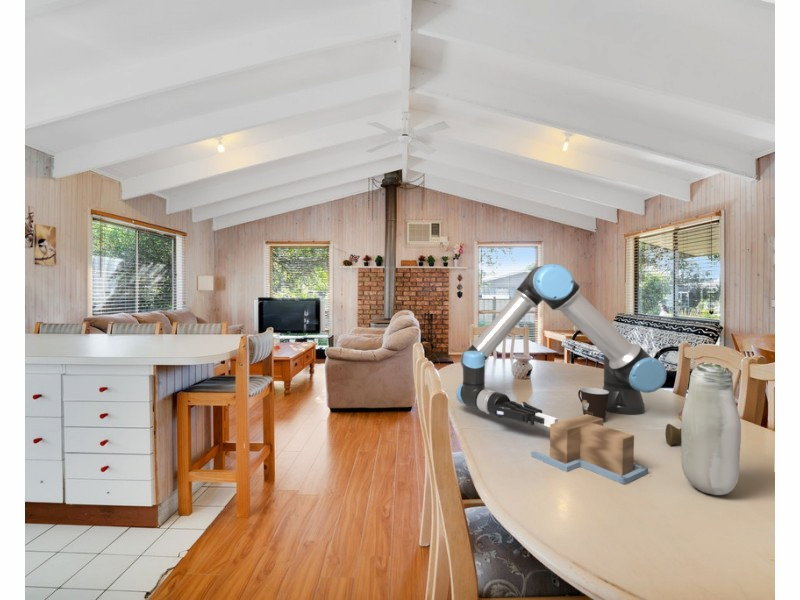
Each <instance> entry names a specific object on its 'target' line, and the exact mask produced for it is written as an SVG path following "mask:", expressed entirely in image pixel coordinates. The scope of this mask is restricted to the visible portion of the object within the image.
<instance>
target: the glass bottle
mask: <svg viewBox="0 0 800 600" xmlns="http://www.w3.org/2000/svg"><path fill="white" fill-rule="evenodd" d="M734 392H735V391H734V379H733V377H732V375H731V373H730V371H729V370H728V369H726V368H724V367H722V366H720V365H716V364H712V363H702V364H699V365H697V366H696V367H694V368H693V369H692V371H691V373H690V376H689V385H688V392H687V395H686V398H685V402H684V405H683V409H682V410H683V412H682V422H681V427H680V428H681V438H682V443H681V451H680V452H681V454H680V455H681V456H680V457H681V458H680V459H681V461H680V462H681V469H682V472H683V475H684V476H685V478H686V480H687V481H688V483H690V484H691V485H692V486H693V487H694V488H695V489H697V490H698V491H700V492H702V493H705V494H708V495H714V496H723V495H727V494H729V493H730V492H732V491H733V490H734V489H735V487H736V485H737V483H738V480H739V475H740V462H741V461H740V459H741V458H740V457H741V456H740V455H741V444H742V441H741V440H742V426H741V425H742V424H741V418H740V413H739V410H738V407H737V403H736V398H735V393H734Z"/></svg>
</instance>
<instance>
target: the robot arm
mask: <svg viewBox="0 0 800 600" xmlns="http://www.w3.org/2000/svg"><path fill="white" fill-rule="evenodd" d="M542 302H544V303H545V304H546V305H548V307H549V308H550V309H551V310H552V311H560V312H561V313H562V314H563V315H564V316H565V317H566V318H567V319H568V321H570V322H571V323H572V324H573V325H574V326H575V327H576V328H577V329H578V330H579V331H580V332H581V333H582V334H583V335H584V336H585V337H586V338H587V339H588V340H589V341H590V342H591V343H592V344H593V345H594V346H595V347H596V348H597V349H598V350H599V351H600V352H601V353H602V354H603V386H602V389H604V390H607V391H609V396H608V403H607V410H606V412H610V413H611V412H612V413H615V414H623V415H640V414H644V413H645V411H646V405H645V403H644V400H643V397H642V393H647V394H648V393H654V392H656V391H659V390H660V389H661V388H663V387H662V386H663V385H664V384H665V383H666V381H667V368H666V367H665V364H663V362H662V361H660V360H659V359H657V358H655V357H652V356H651V355H649V353H648V352H647V351H645V349H644V348H643V347H641V345H640V344H637V343H631V342H630V341H629V340H628V339H627V338H626V337H625V336H624V335H623V334H622V333H621V332H620V331H619V330H617V328H616V327H615V326H614V325H612V324H611V323H610V322H609V320H608V319H607V318H606V317H604V315H602V314H601V313H600V311H599V310H597V309H596V308H595V307H594V306H593V305H592V303H591V302H589V300H588V299H586V298H585V297H584V296H583V295H582V293H581V286H580V285H579V284H578V283H577V282H576V281H575V280H574V277H573V274H572V273H571V271H570V270H569V269H567V267H565V266H563V265H560V264H555V263H549V264H545V265H540V266H537V267H535V268H534V269H532V270H531V271H529V273H528V274H527V276H526V277H525V278H524V279H523V281H522V282H521V283H520V284H519V286H518V287H517V288H516V290H515V295H514V296H513V297H512V298H511V299H510V301H509V302H508V303H507V304H506V305H505V306H504V307H503V309H502V310H501V311H500V312H499V313H498V314H497V315H496V316H495V318H494V319H493V320H492V321H491V323H490V324H488V326H487V327H486V328H485V329H484V330H483V332H482V333H481V334H480V335H479V336H478V337H477V338H476V340H475V341H473V343H472V344H471V346H469V348H468V349H467V350H465V351H463V352H462V354H461V355H460V358H459V359H460V361H459V362H460V364H461V367H462V383H460V384H459V385H458V386H457V390H456V394H455V395H456V400H457V401H458V402H459V403H460V404H462V405H465V406H466V407H469V408H472V409H476V410H479V411H480V412H484V413H486V414H487V415H491V416H494V417H496V418H506V419H510V420H514V421H517V422H522V423H525V424H528V423H529V422H530V426H531V425H532V426H535V424H539V425H542V426H545V427H548V428H550V424H554V423H557V422H559V418H557V417H554V416H551V415H548V414H544V413H543V409H539V408H537V407H536V406H533V405H531V404H529V403H527V402H525V401H522V402H521V403H517V402H516V401H515V400H514V401H513V400H511V399H510V397H509V396H508V395H507V394H505V393H501V392H498V391H495V390H491V389H487V388H485V387H486V386H485V379H486V377H485V376H486V375H485V374H486V373H485V372H486V360H487V359H488V358H489V356H491V354H492V353H494V351H495V350H496V349H497V348H498V346H499V345H500V344H501V343H502V342H503V341H504V340H505V338H506V337H507V336H508V335H510V333H511V332H512V331H513V329H514V328H515V327H516V326H517V325H518V324H519V323H520V322H521V320H522V319H524V317H525V316H526V315H527V314H528V312H529V311H530V310H531V309H532V308H537V307H538V305H539V304H540V303H542Z"/></svg>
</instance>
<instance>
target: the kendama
mask: <svg viewBox="0 0 800 600" xmlns="http://www.w3.org/2000/svg"><path fill="white" fill-rule="evenodd" d="M665 441H666V444H667V445H668V446H669V445H670V446H669V447H671V446H674V445H677V444H680V443H681V444H682V438H681V427H680V428H678V427H676V426H674V425H673V424H671V423H667V424H666V427H665Z"/></svg>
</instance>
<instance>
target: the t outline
mask: <svg viewBox="0 0 800 600" xmlns="http://www.w3.org/2000/svg"><path fill="white" fill-rule="evenodd" d="M530 452H531V453H530V454H531V457H532V458H534V459H537V460H540V462H541V461H542V462H543V463H546V464H548V465H550V466H553V467H555V468H557V469H559V470H562V471H564V472H565V473H567V472H569V471H572V470H575V469H577V468H580V467H581V468H583V469H585V470H588V471H590V472H593V473H596V474H598V475H600V476H602V477H605V478H608V479H609V480H610V479H611V480H612V481H614V482H617V483H619V484H622V485H626V484H629V483H631V482H634V481H635V480H637V479H639V478H641V477H644V476H646V475H647V474H649V468H648V467H645V466H642V465H639V464H638V463H637V464H636V463H634V466H633V471H632V472H630V473H628V474H626V475H623V476H621V475H618V474H616V473H613V472H611V471H608V470H606V469H603V468H601V467H598V466H596V465H593V464H591V463H588V462H586V461H583V460H581V459H578V460H575V461H572V462H570V463H567V464H564V463H562V462H560V461H557V460H555V459H553V458H550V456H548V455H546V454H543V453H540V452H539V451H535V450H533V451H530Z"/></svg>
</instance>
